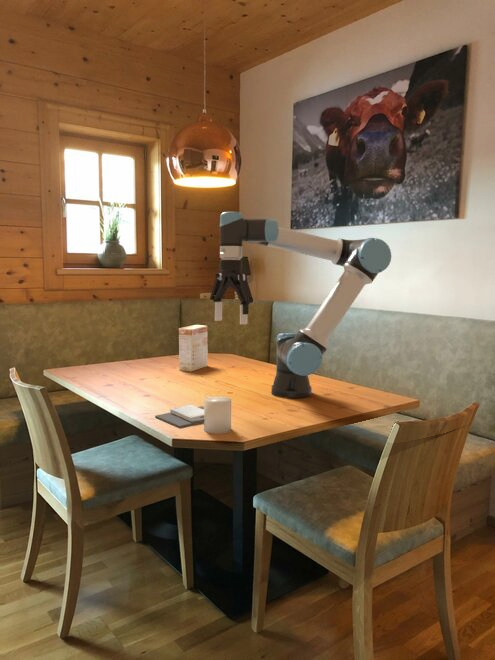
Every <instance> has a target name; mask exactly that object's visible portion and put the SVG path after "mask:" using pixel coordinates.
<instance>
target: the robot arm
mask: <svg viewBox="0 0 495 660" xmlns="http://www.w3.org/2000/svg"><path fill="white" fill-rule="evenodd" d="M243 242H248V243H249V244H252V245H253V244H254V245H255V244H256V245H260V246H264V247H265V246H266V247H269V248H274V249H279V250H283V251H289V252H292V253H296V254H299V255H301V254H302V255H305V256H310V257H314V258H318V259H323V260H327V261H331V263H332V264H333V265H336V266H341V267H343V273H342V274H341V275H340V277H339V279H338V280H337V281H336V283H335V284H334V286H333V287H332V289H331V290H330V291H329V293H328V295H327V296H326V298H325V299H324V300H323V302H322V304H321V305H320V307H319V308H318V309H317V311H316V312H315V314H314V316H312V318H311V320H310V321H309V323H308V324H307V325H306V327H304V328H301V329H299V330H298V331H297V332H296V333H294V332H293V333H292V332H291V333H290V332H289V333H278V335H277V336H276V340H275V341H276V371H275V372H276V374H275V376H274V379H273V384H272V385H271V395H273V396H276V397H279V398H284V399H285V398H286V399H301V398H307V397H310V396H312V395H313V394H312V393H313V391H312V390H313V389H312V388H313V387H312V385H310V382H311V381H310V379H309V376H310V375H311V376H312V375H313V374H315V373H316V372H317V371H318V370H319V369H320V367H321V365H322V364H323V363H322V362H323V356H324V354H325V352H326V351H327V350H328V344H327V343H328V340H329V338H330V337H331V336H332V334H333V333H334V332H335V330H336V329H337V327H338V326H339V325H340V322H341V321H342V320H343V318H344V317H345V315H346V313H347V312H348V311H349V309H350V308H351V307H352V305H353V303H354V302H355V300H356V299H357V298H358V296H359V295H360V293H361V292H362V290H364V287H365V286H366V285H368V284H372V283H373V282H374V280H375V279H376V278H377V276H378V274H380V273H382V272H384V271H385V270H386V269H387V268H388V267H389V266H390V264H391V261H392V252H391V248H390V246H389V245H388V243H386V241H384V240H382V239H381V238H377V237H367V238H363V239H362V238H361V239H345V238H338V239H336V240H335V239H331V238H327V237H323V236H318V235H315V234H310V233H305V232H302V231H301V232H300V231H296V230H293V229H289V228H284V227H279V222H278V220H276V219H272V218H244V216H243V213H242V212H239V211H224V212H223V211H222V213H221V214H220V216H219V258H220V260H219V271H221V272H219V273H218V272H217V273H216V274H215V280H214V282H213V287H212V290H211V293H210V295H209V299H210V300H211V301H213V303H214V304H213V310H214V321H215V322H219V321H220V322H221V321H223V300H222V299H223V297H224V295H225V293H226V292H227V290H228V288H232V289H234V291H235V293H236V294H237V297H238V299H239V301H240V304H239V325H248V322H249V321H248V320H249V319H248V318H249V317H248V315H249V305H250V304H252V303H254V299H253V295H252V293H251V292H252V291H251V289H250V285H249V283H248V276H247V273H241V272H242V270H243V261H242V260H241V259H242V258H243Z"/></svg>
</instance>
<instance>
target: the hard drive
mask: <svg viewBox="0 0 495 660" xmlns="http://www.w3.org/2000/svg"><path fill="white" fill-rule="evenodd" d="M198 407H199V406H195V405H193V404H187V405H182V406H178V407H171V408H170V411H169V413H172V414H175V415H177V416H179V417H182V418H184V419H186V420H188V421H191V422H195V421H200V420H204V410H203V409H200V408H198Z"/></svg>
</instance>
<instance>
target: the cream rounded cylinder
mask: <svg viewBox="0 0 495 660" xmlns="http://www.w3.org/2000/svg"><path fill="white" fill-rule="evenodd" d="M203 407H204V423H203V430H204V432H206V433H209V434H213V435H214V434H215V435H217V434H227V433H229V432H231V430H232V398H231V397H228V396H217V395H215V396H209V397H205V398H204V399H203Z"/></svg>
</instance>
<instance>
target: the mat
mask: <svg viewBox="0 0 495 660" xmlns="http://www.w3.org/2000/svg"><path fill="white" fill-rule="evenodd" d="M197 407H198V408H200V409H203V410H204V405H203V406H202V405H200V406H197ZM154 417H155V418H156V419H158V420H161V421H162V420H163V422H165V423H167V424H169V423H170V425H171V426H174V427H175V428H176V427H177V428H178V429H181V428H185V427H190V426H194V425H199V424H204V420H200V421H195V422H191V421H188V420H186V419H184V418H182V417H179V416H177V415H175V414H172V413H170V412H166V413H162V414H156V415H154Z"/></svg>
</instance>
